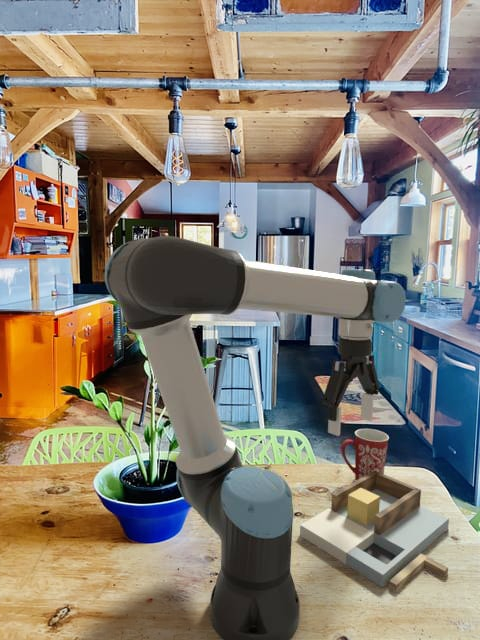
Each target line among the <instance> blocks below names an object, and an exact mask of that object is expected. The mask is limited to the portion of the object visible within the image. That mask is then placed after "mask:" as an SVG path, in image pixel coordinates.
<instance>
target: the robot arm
mask: <svg viewBox="0 0 480 640" xmlns="http://www.w3.org/2000/svg"><path fill="white" fill-rule="evenodd" d="M104 269H105V270H104V283H105V285H106V286H105V287H106V289H107V291H108V292H109V294H110V296H111V297H112V298H113V299H114V301H115V302H117V303H118V304H119V305H120V309H121V312H122V314H123V318H124V320H125V323H126V325H127V326H126V327H127V328H128V330H129V331H130V332H133V333H134V334H136V335H138V336H140V337H141V340H142V341H141V342H142V345H143V346H144V349H145V352H146V355H147V358H148V361H149V363H150V368H151V369H152V372H153V375H154V379H155V381H156V384H157V388H158V389H159V394H160V395H161V398H162V403H163V404H164V408H165V410H166V412H167V413H166V414H167V416H168V419H169V422H170V425H171V429H172V430H173V433H174V436H175V439H176V442H177V445H178V447H179V450H180V451H179V452H178V454H177V456H176V459H175V465H176V468H177V469H176V474H175V475H176V484H177V487H178V489H179V491H180V494H181V496H182V498H183V499H184V501H185V502H186V503H187V504H188V505H189V506H190V507H191V508H193V509H194V510H195V511H196V512H197V514H198V515H200V517H201V518H202V519H203V520H204V522H206V524H207V525H208V526H209V527H210V528H211V529H212V530H213V531H214V533H215V534H216V535H217V536H218V537H219V539H220V543H221V544H220V549H221V551H220V552H221V553H220V569H219V572H218V574H217V578H216V581H215V585H214V586H213V589H212V591H211V594H210V598H209V599H210V600H209V601H210V603H209V617H210V621H211V624H212V626H213V628H214V630H215V632H216V633H217V634H218V635H219V636H220V637H221V638H222V639H223V640H289V639H291V637H292V636H293V635H294V634H295V633H296V631H297V629H298V625H299V621H300V605H301V604H300V599H299V598H300V597H299V595H298V593H297V590H296V586H295V583H294V579H293V575H292V573H291V563H292V562H291V558H292V541H293V540H292V537H293V523H294V522H293V521H294V520H293V519H294V507H293V496H292V495H293V494H292V490H291V488H290V486H289V484H288V483H287V481H286V480H285V479H284V478H283V477H282V476H280V475H279V474H278V473H277V472H274V471H272V470H271V469H268V468H265V469H262V468H261V467H260V466H253V465H252V466H248V465H247V466H245V465H243V463H242V460H241V457H240V454H239V450H238V448H237V445H236V442H235V440H234V438H232V437H231V436H230V435H226V434H225V433H224V430H223V427H222V423H221V421H220V417H219V414H218V411H217V407H216V404H215V400H214V398H213V394H212V391H211V388H210V385H209V381H208V378H207V373H206V372H205V368H204V365H203V361H202V358H201V355H200V351H199V348H198V345H197V341H196V338H195V334H194V332H193V328H192V325H191V323H190V319H191V317H192V316H193V315H227V316H228V315H229V316H230V315H232V314H234V313H236V311H237V310H250V311H258V312H259V311H261V312H270V313H271V312H272V313H286V314H294V315H296V314H298V315H309V316H318V317H319V316H320V317H321V316H322V317H331V318H338V336H339V338H338V339H337V341H338V342H337V352H338V354H339V355H340V356H341V360H340V361H338V360H333V361H332V365H331V372H330V375H329V378H328V381H327V384H326V388H325V391H324V394H323V397H322V400H321V403H322V405H326V406H328V408H327V409H328V411H327V412H328V413H327V417H328V420H327V421H328V423H327V425H328V426H327V433H329V434H331V435H334V436H337V437H340V436H341V424H342V423H341V422H342V406H340V404H341V402H342V399H343V398H344V396H345V393H346V391H347V389H348V387H349V385H350V383H352V382H353V381H354V379H356V378H357V379H358V381H359V383H360V386H361V387H362V389H363V391H364V392H362V393H361V405H360V406H361V407H360V408H361V409H360V419H361V420H364V421H367V422H372V421H373V410H374V396H375V395H376V396H378V395H379V391H380V383H379V378H378V374H377V370H376V365H375V355H374V354H372V351H373V340H372V338H371V337H373V332H374V331H373V330H374V329H373V328H374V322H376V323H383V322H384V323H392V322H396V321H397V320H398V319H400V318H401V316H402V315H403V313H404V311H405V308H406V301H407V298H406V291H405V289H404V287H402V285H401V284H400V283H398V282H397V281H390V280H385V279H381V280H378V279H376V273H375V271H374V270H373V269H348V268H347V269H343V270H342V271H341V274H339V273H332V272H325V271H319V270H314V269H313V270H312V269H307V268H301V267H295V266H287V265H282V264H276V263H269V262H264V261H257V260H251V259H246V258H244V257H243V256H242V254H241V253H240V252H239V251H236V250H234V249H233V250H232V249H227V248H222V247H217V246H214V245H209V244H205V243H202V242H197V241H194V240H191V239H187V238H182V237H179V236H178V237H177V236H171V235H163V236H162V235H161V236H156V237H149V238H146V237H145V238H142V237H141V238H139V239H133V240H130V241H127V242H125V243H124V244H121V245H120V246H119V247H117V248H116V249H115V250H114V251H113V252H112V253H111V254H110V256H109V258H108V260H107V262H106V264H105V268H104Z"/></svg>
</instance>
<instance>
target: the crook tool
mask: <svg viewBox="0 0 480 640" xmlns="http://www.w3.org/2000/svg"><path fill="white" fill-rule="evenodd" d="M424 567H425V568H426V569H428V570H430V571H432V572H433V573H435V574H437V575H439V576H440V577H442V578H446V577H447V576H448V574H449V567H447V566H445V565H444V564H441V563H440V562H439V561H436V560H434V559H432V558H430V557H429V556H427V555H425V554H423V553H420V554H419V555H418V556H417V557H416V558H415V559H414V560H412V561H411V562H410V563H409V564H408V565H407V566H406V567H405V568H403V569H402V570H401V571H400V572H399V573H398V574H397V575H396V576H394V577H393V578H392V579H391V580H390V581H389V582H388V583H389V584H388V588H389V589H391V590H393V591H394V592H396V593H397V592H398V591H399V590H400V589H401V588H402V587H404V586H405V584H406V583H407V582H409V581H410V580H411V579H412V578H413V577H414V576H415V575H416V574H418V572H420V571H421V569H423V568H424Z"/></svg>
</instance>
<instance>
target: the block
mask: <svg viewBox="0 0 480 640" xmlns="http://www.w3.org/2000/svg"><path fill="white" fill-rule="evenodd" d="M379 505H380V496H378V495H376V494H374V493H371V492H369V491H367V490H365V489H363V488H359V489H358V490H356V491H354V492H352V493H351V494H349V495H348V509H347V516H349V517H351V518H353V519H355V520H357V521H359V522H361V523H362V524H364V525H366V526H367V525H368V524H370V523H371V522H372V521H374V520H375V515H376V514H378V513H379Z"/></svg>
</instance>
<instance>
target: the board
mask: <svg viewBox="0 0 480 640" xmlns="http://www.w3.org/2000/svg"><path fill="white" fill-rule="evenodd" d="M370 492H371V493H374V494H376V495H378V496H380V505H379V512H381V511H382V510H384V509H385V508H387V507H388V506H390V505H391V504H393V503H394V502H396V501H397V500H399V499H398V498H395V497H393V496H391V495H389V494H386V493H384V492H382V491H380V490H377V489H374V490H372V491H370ZM347 509H348V505H347V506H345V507H343V508H342V509H340V510H338V511H337V512H334V511H332V510H331V506H330V507H329V508H327V509H325V510H323V511H322V512H319V513H318V514H315V515H314V516H313V517H311V518H309V519H308V520H306V521H304V522H302V523H301V524H300V525H299V536H300V537H302V538H304V539H305V540H306V541H308V542H310V543H311V544H313V545H314V546H316V547H318V548H319V549H320V550H322V551H323V552H325V553H327V554H329V555H330V556H332V557H333V558H335V559H336V560H338V561H340V562H342V563H343V564H345V565H346V566H347V567H349V568H350V569H353V570H354V571H356V572H357V573H358V574H360V575H362V576H364V577H366V578H367V579H368V580H370V581H372V583H374V584H376V585H378V586H379V587H381V588H383V587H384V586H386V585H387V584H388V583H389V581H390V580H391V579H392V578H393V577H394V576H396V575H397V574H398V573H399V572H400V571H401V570H403V569H404V568H405V567H406V566H407V565H408V564H409V563H411V562H412V561H413V560H414V559H415V558H416V557H418V556H419V555H420V554H422V553H423V552H424V551H425V550H426V549H427V548H429V546H431V545H432V544H433V543H434V542H435V541H436V540H437V539H438V538H440V537H441V536H442V535H443V534H444V533H445V532H446V531H448V529H449V525H450V518H449V517H447V516H444V515H443V514H441V513H438V512H435V511H433V510H431V509H429V508H427V507H424V506H423V505H422V506H421V505H420V506H419V507H417V508H416V509H415V510H413V511H412V512H411V513H409V514H408V515H406V516H405V517H404V518H402V519H401V520H400V521H398V522H397V523H396V524H394V525H393V526H391V527H390V528H389V529H387V530H386V531H385V532H383V533H382V534H381V535H377V534H375V533H374V526H375V520H374V521H372V522H371V523H370V524H368V525H367V526H366V525H364V524H362V523H361V522H359V521H357V520H355V519H353V518H351V517H349V516H347Z"/></svg>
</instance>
